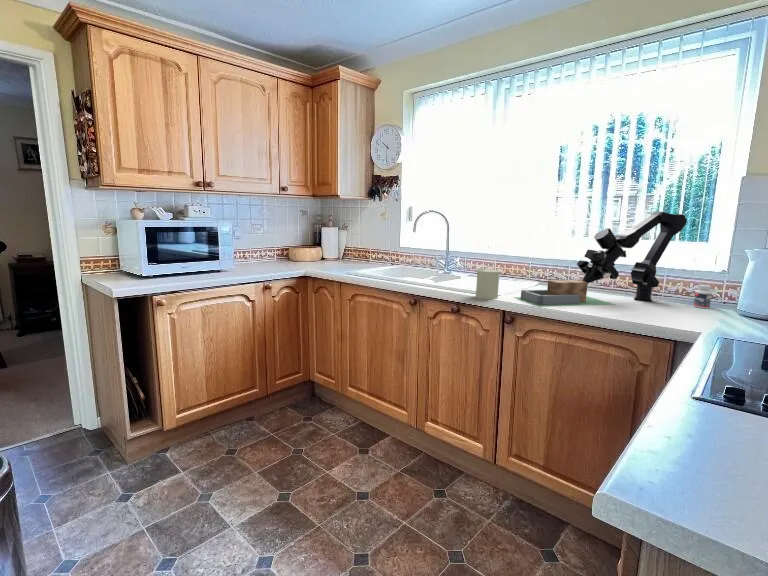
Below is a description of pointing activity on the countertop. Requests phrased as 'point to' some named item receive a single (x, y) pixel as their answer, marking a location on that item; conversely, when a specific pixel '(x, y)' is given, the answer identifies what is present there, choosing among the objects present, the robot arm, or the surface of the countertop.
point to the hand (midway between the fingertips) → (582, 283)
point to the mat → (588, 302)
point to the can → (487, 284)
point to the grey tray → (548, 298)
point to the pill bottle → (702, 296)
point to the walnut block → (568, 288)
